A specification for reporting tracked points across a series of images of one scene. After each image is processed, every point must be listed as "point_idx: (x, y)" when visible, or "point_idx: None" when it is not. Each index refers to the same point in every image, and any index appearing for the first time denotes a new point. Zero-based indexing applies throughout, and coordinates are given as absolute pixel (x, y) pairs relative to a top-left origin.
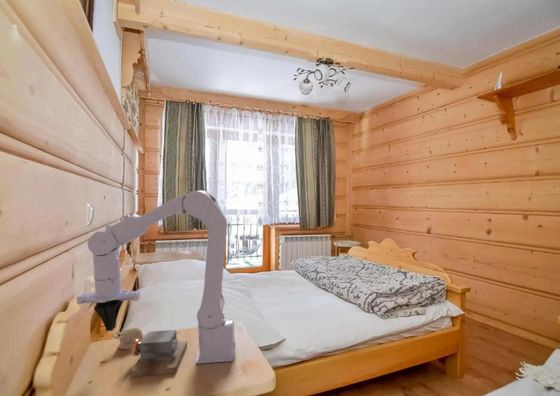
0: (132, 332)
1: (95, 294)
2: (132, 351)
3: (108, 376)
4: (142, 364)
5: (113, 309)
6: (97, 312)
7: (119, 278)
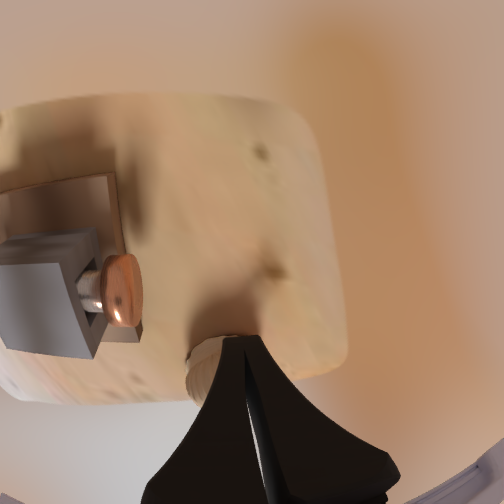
0: (207, 386)
1: None
2: (119, 257)
3: (205, 179)
4: (84, 215)
5: (161, 479)
6: (352, 438)
7: None
